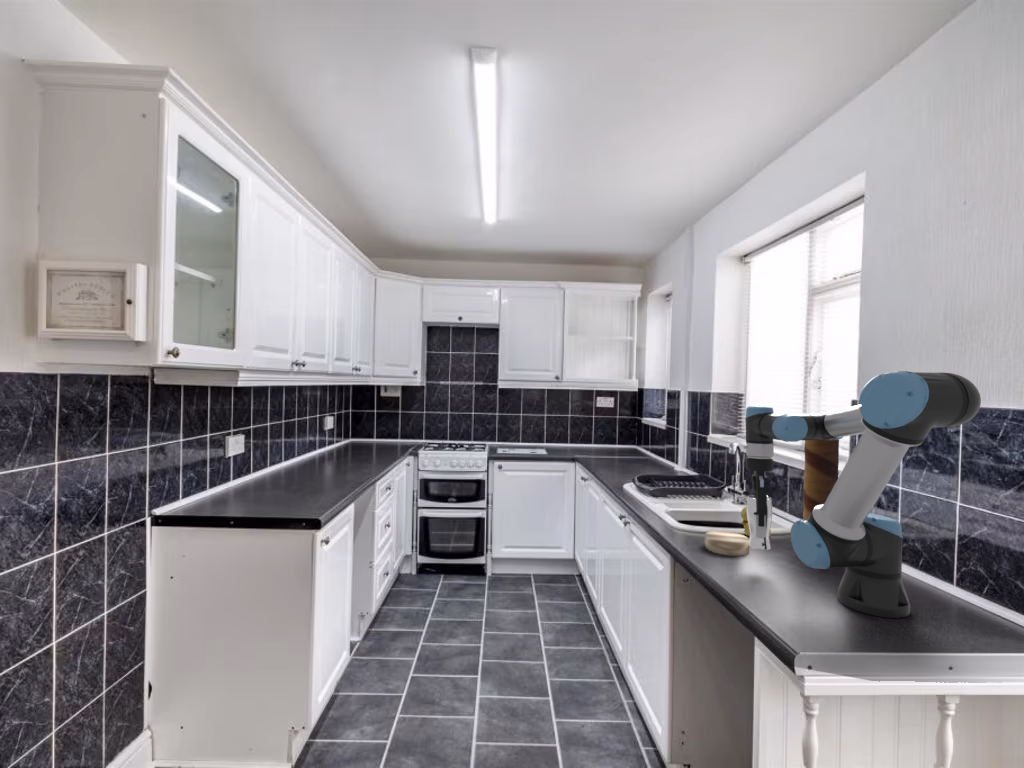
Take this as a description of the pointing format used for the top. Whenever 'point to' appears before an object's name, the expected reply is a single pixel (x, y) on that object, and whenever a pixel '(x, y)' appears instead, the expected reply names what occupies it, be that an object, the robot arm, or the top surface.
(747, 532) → the chocolate bunny
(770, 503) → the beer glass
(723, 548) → the beige round disc
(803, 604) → the top surface
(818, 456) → the wafer roll
